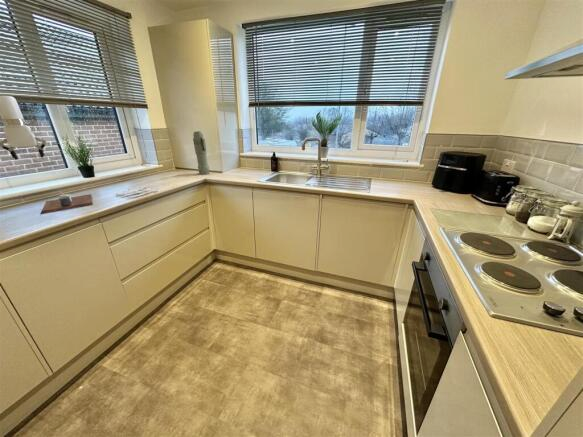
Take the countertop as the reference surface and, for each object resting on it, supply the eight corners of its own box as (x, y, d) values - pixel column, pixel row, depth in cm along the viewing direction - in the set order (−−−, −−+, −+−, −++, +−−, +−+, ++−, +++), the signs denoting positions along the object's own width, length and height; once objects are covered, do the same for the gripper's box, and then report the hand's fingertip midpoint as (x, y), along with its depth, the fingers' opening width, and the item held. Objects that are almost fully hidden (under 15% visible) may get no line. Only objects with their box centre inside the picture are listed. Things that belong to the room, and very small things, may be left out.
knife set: (107, 194, 153) (107, 193, 153) (158, 182, 181) (158, 181, 181) (129, 200, 141) (129, 198, 141) (180, 186, 169) (180, 184, 169)
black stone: (61, 206, 128) (58, 199, 127) (61, 204, 131) (58, 197, 130) (71, 204, 131) (69, 197, 129) (71, 202, 134) (69, 195, 132)
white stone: (61, 203, 133) (58, 196, 132) (62, 201, 136) (59, 194, 135) (72, 201, 136) (69, 195, 134) (72, 200, 139) (70, 193, 137)
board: (39, 214, 122) (37, 211, 122) (44, 204, 138) (43, 201, 138) (92, 204, 135) (91, 202, 134) (91, 196, 151) (91, 193, 150)
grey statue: (206, 175, 204) (199, 131, 190) (195, 174, 208) (188, 131, 194) (213, 173, 211) (207, 131, 198) (202, 172, 215) (195, 131, 202)
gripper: (39, 123, 127) (52, 155, 133) (-9, 123, 117) (7, 159, 123) (37, 122, 121) (51, 157, 128) (-14, 123, 111) (4, 161, 118)
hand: (29, 158), depth 126 cm, fingers open, 9 cm apart
